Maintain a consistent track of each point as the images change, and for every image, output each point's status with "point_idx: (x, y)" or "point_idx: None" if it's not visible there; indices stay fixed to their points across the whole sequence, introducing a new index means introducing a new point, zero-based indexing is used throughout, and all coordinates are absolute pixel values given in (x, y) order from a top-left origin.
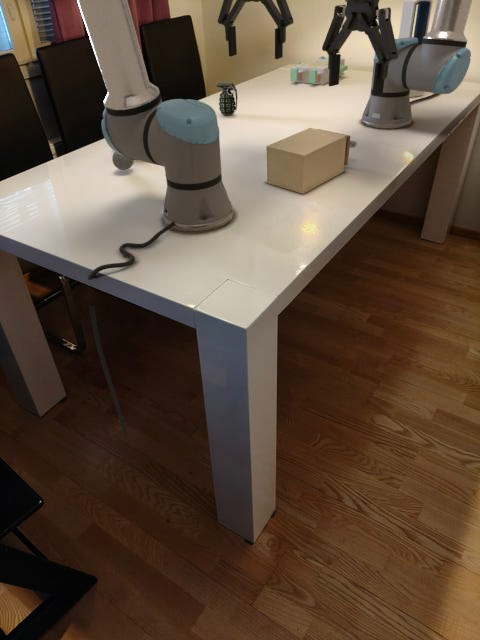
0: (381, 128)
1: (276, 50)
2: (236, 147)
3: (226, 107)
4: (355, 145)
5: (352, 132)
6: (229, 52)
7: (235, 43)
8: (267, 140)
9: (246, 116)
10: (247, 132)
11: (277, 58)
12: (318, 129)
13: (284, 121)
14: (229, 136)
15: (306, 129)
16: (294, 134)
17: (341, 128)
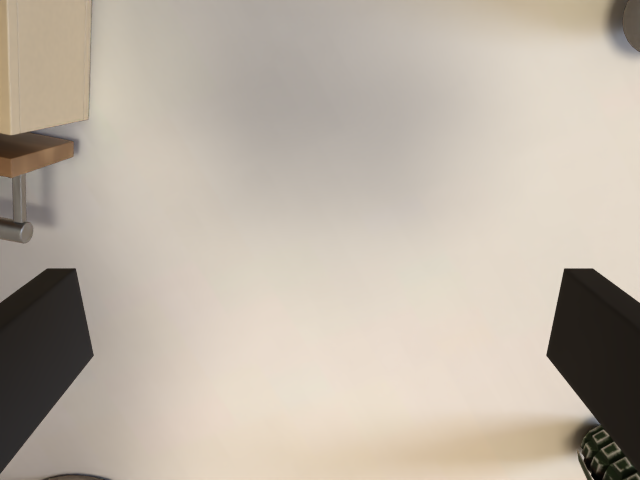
0: (65, 476)
1: (14, 305)
2: (413, 158)
3: (614, 442)
4: None
5: (126, 425)
6: (604, 283)
7: (603, 408)
8: (341, 266)
9: (530, 448)
10: (450, 312)
11: (44, 271)
12: (5, 171)
13: (379, 445)
14: (495, 253)
15: (5, 103)
16: (3, 6)
17: (176, 444)
